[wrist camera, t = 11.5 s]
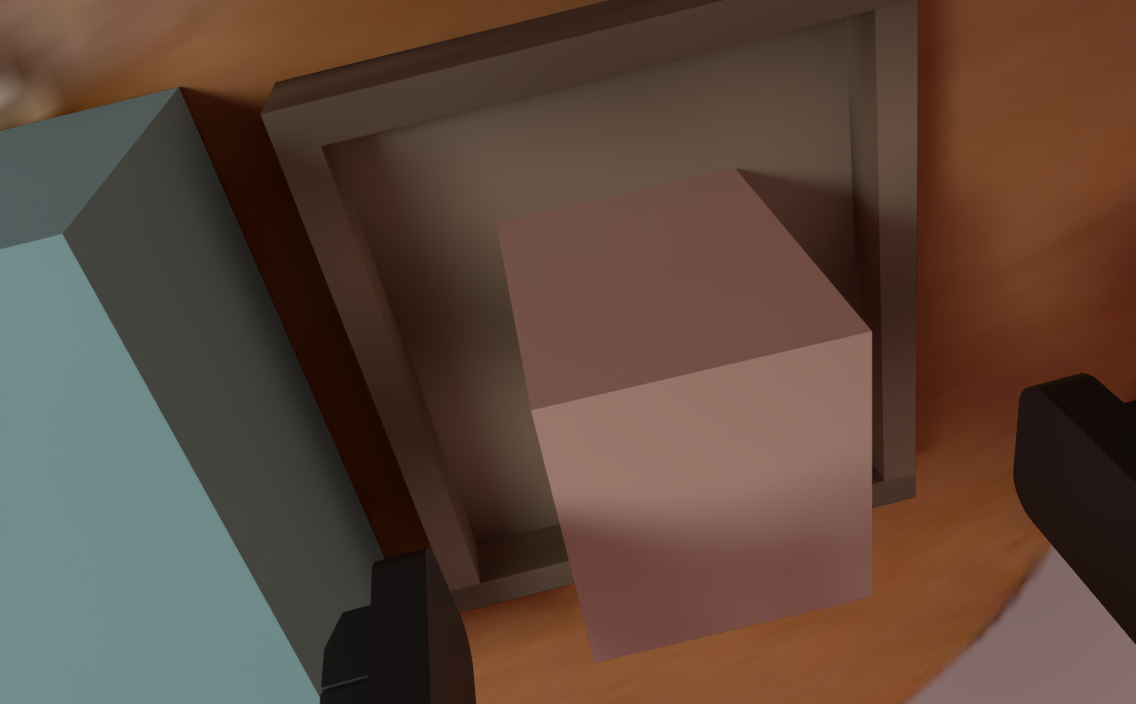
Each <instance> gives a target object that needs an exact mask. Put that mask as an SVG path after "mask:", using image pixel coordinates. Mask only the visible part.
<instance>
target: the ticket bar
mask: <svg viewBox="0 0 1136 704" xmlns="http://www.w3.org/2000/svg"><path fill="white" fill-rule="evenodd" d="M382 559H385V558H384V556H383V553H382V551H381V549H380V546H379V544H378V542H377V540H376V537H375V535H374V533H373V530H372V528H371V526H370V524H369V521H368V519H367V517H366V514H365V512H364V510H363V508H362V505H361V503H360V501H359V498H358V496H357V494H356V491H355V489H354V487H353V485H352V482H351V480H350V478H349V475H348V473H347V471H346V469H345V466H344V464H343V462H342V459H341V457H340V455H339V453H338V450H337V448H336V446H335V443H334V441H333V439H332V437H331V434H330V432H329V430H328V427H327V425H326V423H325V421H324V418H323V416H322V414H321V411H320V409H319V407H318V405H317V402H316V400H315V398H314V395H313V393H312V391H311V388H310V386H309V384H308V382H307V379H306V377H305V375H304V372H303V370H302V368H301V366H300V363H299V361H298V359H297V356H296V354H295V352H294V350H293V347H292V345H291V343H290V340H289V338H288V336H287V334H286V331H285V329H284V327H283V324H282V322H281V320H280V318H279V315H278V313H277V311H276V308H275V306H274V304H273V302H272V299H271V297H270V295H269V292H268V290H267V288H266V286H265V283H264V281H263V279H262V276H261V274H260V272H259V269H258V267H257V265H256V263H255V260H254V258H253V256H252V253H251V251H250V249H249V247H248V244H247V242H246V240H245V237H244V235H243V233H242V231H241V228H240V226H239V224H238V221H237V219H236V217H235V215H234V212H233V210H232V208H231V205H230V203H229V201H228V199H227V196H226V194H225V192H224V189H223V187H222V185H221V183H220V180H219V178H218V176H217V173H216V171H215V169H214V166H213V164H212V162H211V160H210V157H209V155H208V153H207V150H206V148H205V146H204V144H203V141H202V139H201V137H200V134H199V132H198V130H197V128H196V125H195V123H194V121H193V118H192V116H191V114H190V112H189V109H188V107H187V105H186V102H185V100H184V98H183V96H182V93H181V91H180V89H179V87H177V88H173V89H169V90H165V91H161V92H157V93H153V94H149V95H145V96H141V97H136V98H132V99H128V100H124V101H120V102H116V103H112V104H108V105H104V106H100V107H96V108H92V109H88V110H83V111H79V112H75V113H71V114H67V115H63V116H59V117H55V118H51V119H47V120H43V121H39V122H35V123H31V124H26V125H22V126H18V127H14V128H10V129H6V130H2V131H0V704H320V694H322V688H321V680H322V668H323V656H324V648H325V646H326V644H327V642H328V640H329V638H330V636H331V634H332V632H333V630H334V628H335V626H336V624H337V622H338V620H339V618H340V616H341V614H342V612H346V611H349V610H353V609H357V608H360V607H364V606H368V605H371V575H372V566H373V563H374V562H375V561H379V560H382Z"/></svg>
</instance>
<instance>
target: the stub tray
mask: <svg viewBox="0 0 1136 704" xmlns="http://www.w3.org/2000/svg"><path fill="white" fill-rule="evenodd" d="M917 98H918V0H609V1H605V2H601V3H597V4H593V5H589V6H585V7H581V8H577V9H573V10H568V11H564V12H560V13H556V14H552V15H548V16H544V17H540V18H536V19H532V20H528V21H524V22H520V23H516V24H512V25H507V26H503V27H499V28H495V29H491V30H487V31H483V32H479V33H475V34H471V35H467V36H463V37H459V38H455V39H450V40H446V41H442V42H438V43H434V44H430V45H426V46H422V47H418V48H414V49H410V50H406V51H402V52H398V53H394V54H389V55H385V56H381V57H377V58H373V59H369V60H365V61H361V62H357V63H353V64H349V65H345V66H341V67H337V68H332V69H328V70H324V71H320V72H316V73H312V74H308V75H304V76H300V77H296V78H292V79H288V80H284V81H280V82H276V83H275V85H274V87H273V89H272V91H271V93H270V95H269V98H268V100H267V102H266V104H265V106H264V108H263V110H262V112H261V117H262V119H263V122H264V125H265V127H266V130H267V132H268V135H269V137H270V140H271V142H272V145H273V147H274V150H275V152H276V155H277V157H278V160H279V163H280V165H281V168H282V170H283V173H284V175H285V178H286V180H287V183H288V185H289V188H290V190H291V193H292V195H293V198H294V201H295V203H296V206H297V208H298V211H299V213H300V216H301V218H302V221H303V223H304V226H305V228H306V231H307V234H308V236H309V239H310V241H311V244H312V246H313V249H314V251H315V254H316V256H317V259H318V261H319V264H320V266H321V269H322V272H323V274H324V277H325V279H326V282H327V284H328V287H329V289H330V292H331V294H332V297H333V299H334V302H335V305H336V307H337V310H338V312H339V315H340V317H341V320H342V322H343V325H344V327H345V330H346V332H347V335H348V337H349V340H350V343H351V345H352V348H353V350H354V353H355V355H356V358H357V360H358V363H359V365H360V368H361V370H362V373H363V375H364V378H365V381H366V383H367V386H368V388H369V391H370V393H371V396H372V398H373V401H374V403H375V406H376V408H377V411H378V414H379V416H380V419H381V421H382V424H383V426H384V429H385V431H386V434H387V436H388V439H389V441H390V444H391V446H392V449H393V452H394V454H395V457H396V459H397V462H398V464H399V467H400V469H401V472H402V474H403V477H404V479H405V482H406V484H407V487H408V490H409V492H410V495H411V497H412V500H413V502H414V505H415V507H416V510H417V512H418V515H419V517H420V520H421V523H422V525H423V528H424V530H425V533H426V535H427V538H428V540H429V543H430V545H431V548H432V550H433V553H434V555H435V557H436V559H437V562H438V564H439V566H440V569H441V571H442V573H443V576H444V578H445V581H446V583H447V585H448V588H449V590H450V593H451V595H452V597H453V600H454V602H455V604H456V607H457V609H458V612H463V611H467V610H471V609H475V608H479V607H483V606H487V605H491V604H495V603H499V602H503V601H507V600H511V599H515V598H519V597H523V596H527V595H531V594H535V593H538V592H542V591H546V590H550V589H554V588H558V587H562V586H566V585H570V584H574V579H573V575H572V571H571V567H570V563H569V559H568V555H567V551H566V547H565V543H564V539H563V535H562V531H561V527H560V523H559V519H558V515H557V511H556V507H555V503H554V499H553V495H552V491H551V487H550V484H549V480H548V476H547V472H546V468H545V464H544V460H543V456H542V452H541V448H540V444H539V440H538V436H537V432H536V428H535V424H534V420H533V416H532V412H531V407H530V402H529V396H528V391H527V386H526V380H525V375H524V369H523V364H522V359H521V353H520V348H519V342H518V337H517V332H516V326H515V321H514V315H513V310H512V305H511V299H510V294H509V288H508V283H507V278H506V272H505V267H504V261H503V256H502V251H501V245H500V240H499V234H498V229H497V224H496V223H497V222H502V221H506V220H511V219H515V218H519V217H524V216H528V215H533V214H537V213H542V212H546V211H550V210H555V209H559V208H564V207H568V206H572V205H577V204H581V203H586V202H590V201H594V200H599V199H603V198H608V197H612V196H616V195H621V194H625V193H630V192H634V191H638V190H643V189H647V188H652V187H656V186H660V185H665V184H669V183H674V182H678V181H682V180H687V179H691V178H696V177H700V176H704V175H709V174H713V173H718V172H722V171H726V170H731V169H736V170H737V171H738V172H739V174H740V175H741V176H742V177H743V178H744V180H745V181H746V182H747V183H748V184H749V185H750V187H751V188H752V189H753V190H754V191H755V193H756V194H757V195H758V196H759V197H760V199H761V200H762V201H763V202H764V203H765V205H766V206H767V207H768V208H769V209H770V210H771V212H772V213H773V214H774V215H775V216H776V218H777V219H778V220H779V221H780V222H781V224H782V225H783V226H784V227H785V228H786V230H787V231H788V232H789V233H790V234H791V236H792V237H793V238H794V239H795V240H796V241H797V243H798V244H799V245H800V246H801V247H802V249H803V250H804V251H805V252H806V253H807V255H808V256H809V257H810V258H811V259H812V261H813V262H814V263H815V264H816V265H817V266H818V268H819V269H820V270H821V271H822V272H823V274H824V275H825V276H826V277H827V278H828V280H829V281H830V282H831V283H832V284H833V286H834V287H835V288H836V289H837V290H838V291H839V293H840V294H841V295H842V296H843V297H844V299H845V300H846V301H847V302H848V303H849V305H850V306H851V307H852V308H853V309H854V311H855V312H856V313H857V314H858V315H859V316H860V318H861V319H862V320H863V321H864V322H865V324H866V325H867V326H868V327H869V328H870V330H871V331H872V508H874V507H878V506H882V505H886V504H890V503H894V502H898V501H902V500H906V499H910V498H914V497H915V472H916V285H917Z"/></svg>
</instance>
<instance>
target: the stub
mask: <svg viewBox="0 0 1136 704" xmlns="http://www.w3.org/2000/svg"><path fill="white" fill-rule="evenodd" d="M496 224H497V229H498V234H499V240H500V245H501V251H502V256H503V261H504V267H505V272H506V278H507V283H508V288H509V294H510V299H511V305H512V310H513V315H514V321H515V326H516V332H517V337H518V342H519V348H520V353H521V359H522V364H523V369H524V375H525V380H526V386H527V391H528V396H529V402H530V407H531V412H532V416H533V420H534V424H535V428H536V432H537V436H538V440H539V444H540V448H541V452H542V456H543V460H544V464H545V468H546V472H547V476H548V480H549V484H550V487H551V491H552V495H553V499H554V503H555V507H556V511H557V515H558V519H559V523H560V527H561V531H562V535H563V539H564V543H565V547H566V551H567V555H568V559H569V563H570V567H571V571H572V575H573V579H574V583H575V587H576V591H577V595H578V599H579V603H580V607H581V611H582V615H583V618H584V622H585V626H586V630H587V634H588V638H589V642H590V646H591V650H592V654H593V658H594V662H595V663H596V662H600V661H604V660H609V659H613V658H617V657H621V656H625V655H630V654H634V653H638V652H642V651H646V650H650V649H655V648H659V647H663V646H667V645H671V644H676V643H680V642H684V641H688V640H692V639H696V638H701V637H705V636H709V635H713V634H717V633H722V632H726V631H730V630H734V629H738V628H742V627H747V626H751V625H755V624H759V623H763V622H768V621H772V620H776V619H780V618H784V617H788V616H793V615H797V614H801V613H805V612H809V611H814V610H818V609H822V608H826V607H830V606H834V605H839V604H843V603H847V602H851V601H855V600H860V599H864V598H868V597H872V331H871V330H870V328H869V327H868V326H867V325H866V324H865V322H864V321H863V320H862V319H861V318H860V316H859V315H858V314H857V313H856V312H855V311H854V309H853V308H852V307H851V306H850V305H849V303H848V302H847V301H846V300H845V299H844V297H843V296H842V295H841V294H840V293H839V291H838V290H837V289H836V288H835V287H834V286H833V284H832V283H831V282H830V281H829V280H828V278H827V277H826V276H825V275H824V274H823V272H822V271H821V270H820V269H819V268H818V266H817V265H816V264H815V263H814V262H813V261H812V259H811V258H810V257H809V256H808V255H807V253H806V252H805V251H804V250H803V249H802V247H801V246H800V245H799V244H798V243H797V241H796V240H795V239H794V238H793V237H792V236H791V234H790V233H789V232H788V231H787V230H786V228H785V227H784V226H783V225H782V224H781V222H780V221H779V220H778V219H777V218H776V216H775V215H774V214H773V213H772V212H771V210H770V209H769V208H768V207H767V206H766V205H765V203H764V202H763V201H762V200H761V199H760V197H759V196H758V195H757V194H756V193H755V191H754V190H753V189H752V188H751V187H750V185H749V184H748V183H747V182H746V181H745V180H744V178H743V177H742V176H741V175H740V174H739V172H738V171H737V170H736V169H731V170H726V171H722V172H718V173H713V174H709V175H704V176H700V177H696V178H691V179H687V180H682V181H678V182H674V183H669V184H665V185H660V186H656V187H652V188H647V189H643V190H638V191H634V192H630V193H625V194H621V195H616V196H612V197H608V198H603V199H599V200H594V201H590V202H586V203H581V204H577V205H572V206H568V207H564V208H559V209H555V210H550V211H546V212H542V213H537V214H533V215H528V216H524V217H519V218H515V219H511V220H506V221H502V222H497V223H496Z"/></svg>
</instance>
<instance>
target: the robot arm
mask: <svg viewBox="0 0 1136 704" xmlns="http://www.w3.org/2000/svg"><path fill="white" fill-rule="evenodd" d="M1013 476H1014V484H1015V488H1016V492H1017V495H1018V497H1019V500H1020V502H1021V504H1022V506H1023V508H1024V510H1025V512H1026V513H1027V515H1028V516H1029V518H1030V519H1031V520H1032V522H1033V523H1034V524H1035V525H1036V526H1037V528H1038V529H1039V530H1040V531H1041V532H1042V534H1043V535H1044V536H1045V537H1046V538H1047V540H1048V541H1049V542H1050V543H1051V544H1052V545H1053V547H1054V548H1055V549H1056V550H1057V551H1058V553H1059V554H1060V555H1061V556H1062V557H1063V559H1064V560H1065V561H1066V562H1067V563H1068V565H1069V566H1070V567H1071V568H1072V569H1073V570H1074V572H1075V573H1076V574H1077V575H1078V576H1079V578H1080V579H1081V580H1082V581H1083V582H1084V584H1085V585H1086V586H1087V587H1088V588H1089V590H1090V591H1091V592H1092V593H1093V594H1094V595H1095V597H1096V598H1097V599H1098V600H1099V601H1100V602H1101V604H1102V605H1103V606H1104V607H1105V608H1106V610H1107V611H1108V612H1109V613H1110V614H1111V616H1112V617H1113V618H1114V619H1115V620H1116V622H1117V623H1118V624H1119V625H1120V626H1121V628H1122V629H1123V630H1124V631H1125V632H1126V633H1127V635H1128V636H1129V637H1130V638H1131V639H1132V641H1133V642H1134V643H1135V644H1136V400H1134V401H1130V402H1127V403H1123V402H1122V401H1121V400H1120V399H1119V398H1118V397H1116V396H1115V395H1114V394H1113V393H1112V392H1111V391H1110V390H1108V389H1107V388H1106V387H1105V386H1104V385H1103V384H1102V383H1100V382H1099V381H1098V380H1097V379H1096V378H1094V377H1093V376H1091V375H1089V374H1086V373H1080V374H1076V375H1072V376H1068V377H1065V378H1061V379H1057V380H1054V381H1050V382H1046V383H1042V384H1039V385H1035V386H1031V387H1028V388H1026V389H1024V390H1023V392H1022V393H1021V396H1020V400H1019V409H1018V422H1017V434H1016V446H1015V458H1014V470H1013ZM321 688H322V694H320V704H476V696H475V684H474V672H473V663H472V657H471V651H470V646H469V642H468V638H467V634H466V630H465V627H464V624H463V621H462V619H461V616H460V614H459V612H458V609H457V607H456V604H455V602H454V600H453V597H452V595H451V593H450V590H449V588H448V585H447V583H446V581H445V578H444V576H443V573H442V571H441V569H440V566H439V564H438V562H437V559H436V557H435V555H434V553H433V551H432V550H431V548H429V547H427V548H423V549H419V550H416V551H412V552H408V553H405V554H401V555H397V556H393V557H390V558H386V559H382V560H379V561H375V562H374V563H373V566H372V575H371V605H368V606H364V607H360V608H357V609H353V610H349V611H346V612H342V614H341V616H340V618H339V620H338V622H337V624H336V626H335V628H334V630H333V632H332V634H331V636H330V638H329V640H328V642H327V644H326V646H325V648H324V656H323V668H322V680H321Z"/></svg>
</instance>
